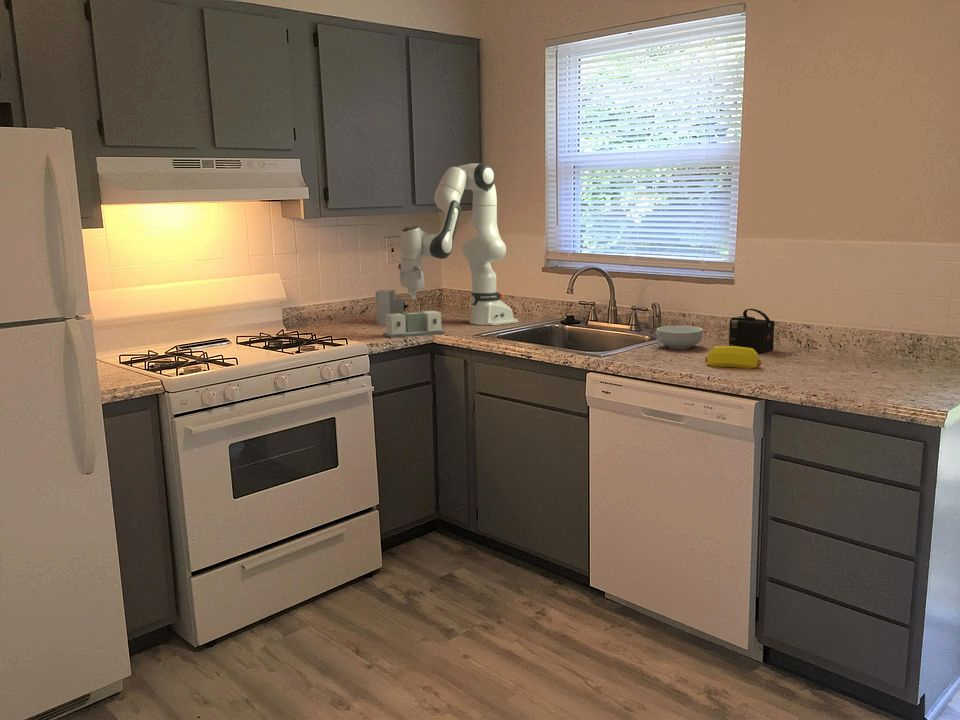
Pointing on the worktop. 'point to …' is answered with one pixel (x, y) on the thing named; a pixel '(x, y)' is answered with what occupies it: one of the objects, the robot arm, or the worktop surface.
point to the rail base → (398, 329)
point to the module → (414, 322)
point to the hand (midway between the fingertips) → (412, 299)
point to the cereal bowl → (679, 336)
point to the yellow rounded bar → (733, 357)
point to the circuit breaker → (388, 305)
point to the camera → (752, 332)
